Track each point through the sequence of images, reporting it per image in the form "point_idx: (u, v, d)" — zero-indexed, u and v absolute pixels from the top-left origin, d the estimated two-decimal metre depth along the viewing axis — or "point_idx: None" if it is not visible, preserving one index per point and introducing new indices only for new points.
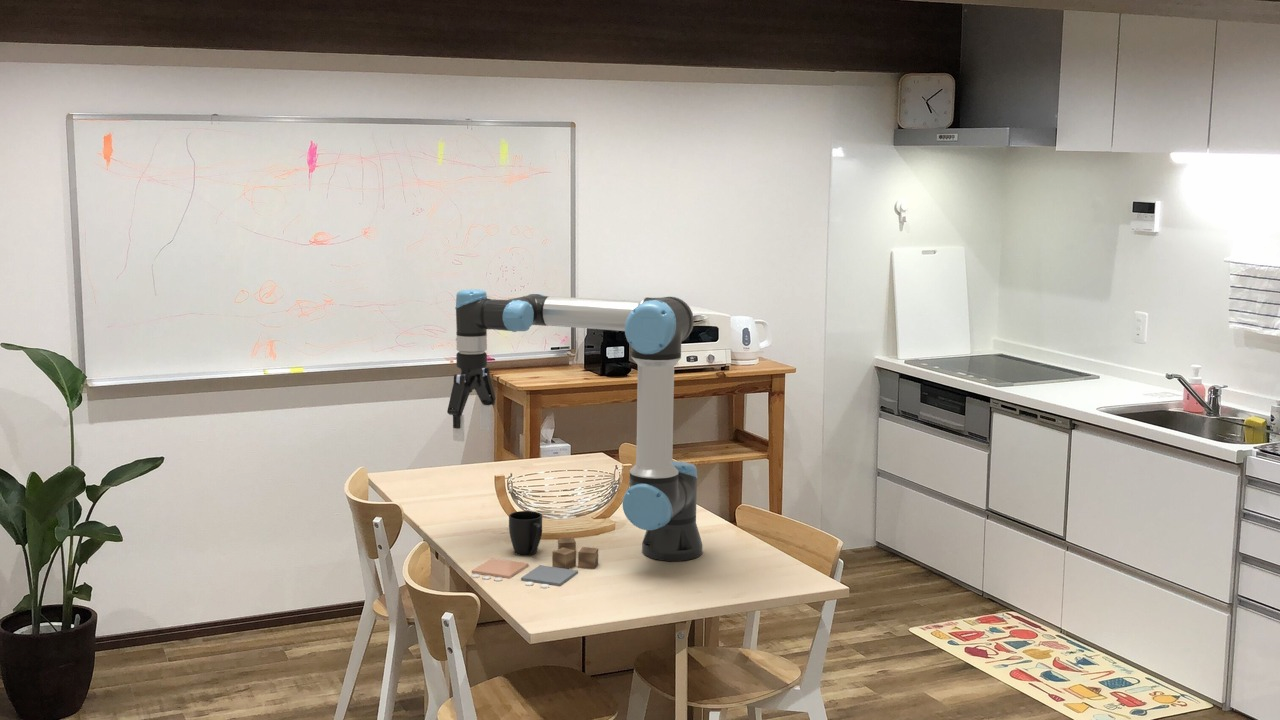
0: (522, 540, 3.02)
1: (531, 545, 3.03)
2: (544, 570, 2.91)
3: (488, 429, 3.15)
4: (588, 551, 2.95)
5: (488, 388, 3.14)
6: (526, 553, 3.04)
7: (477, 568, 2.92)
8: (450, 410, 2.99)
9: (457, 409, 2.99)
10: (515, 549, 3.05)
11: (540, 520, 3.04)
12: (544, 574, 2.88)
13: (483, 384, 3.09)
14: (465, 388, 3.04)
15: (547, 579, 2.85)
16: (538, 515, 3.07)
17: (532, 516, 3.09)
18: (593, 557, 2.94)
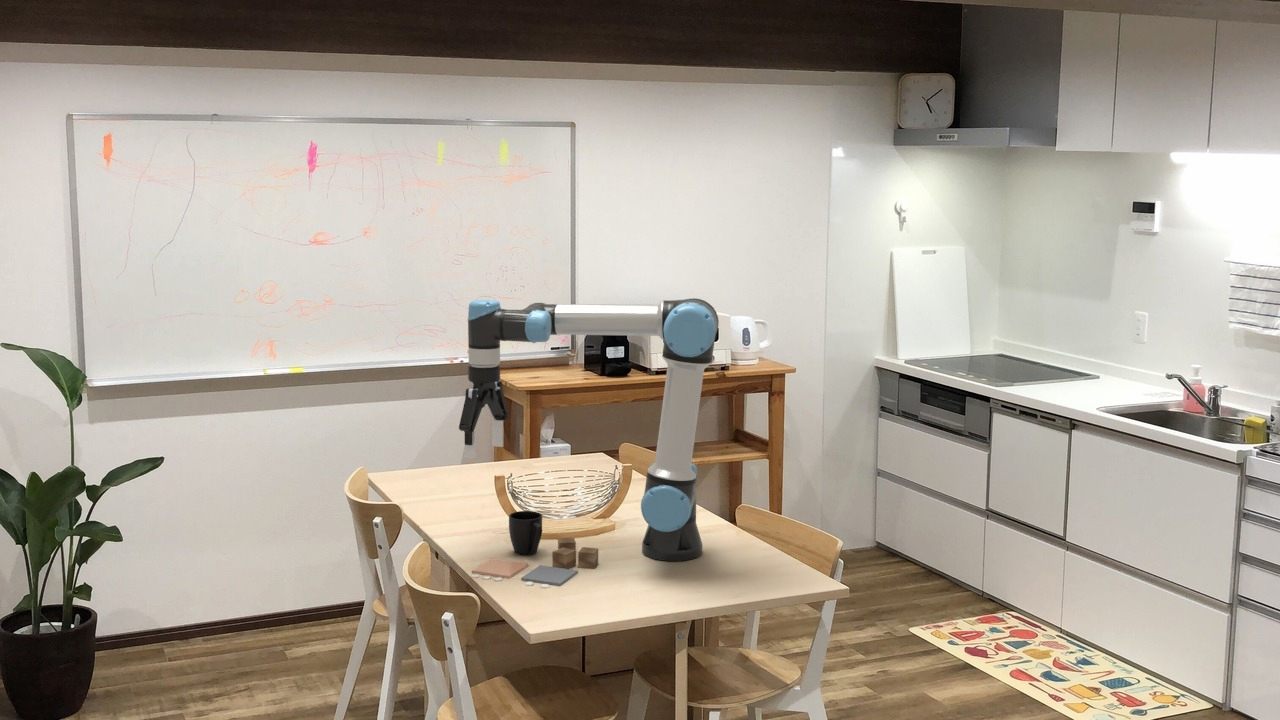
0: (522, 540, 3.02)
1: (531, 545, 3.03)
2: (544, 570, 2.91)
3: (500, 445, 3.02)
4: (588, 551, 2.95)
5: (500, 402, 3.01)
6: (526, 553, 3.04)
7: (477, 568, 2.92)
8: (461, 426, 2.86)
9: (469, 425, 2.86)
10: (515, 549, 3.05)
11: (540, 520, 3.04)
12: (544, 574, 2.88)
13: (496, 398, 2.96)
14: (477, 402, 2.91)
15: (547, 579, 2.85)
16: (538, 515, 3.07)
17: (532, 516, 3.09)
18: (593, 557, 2.94)
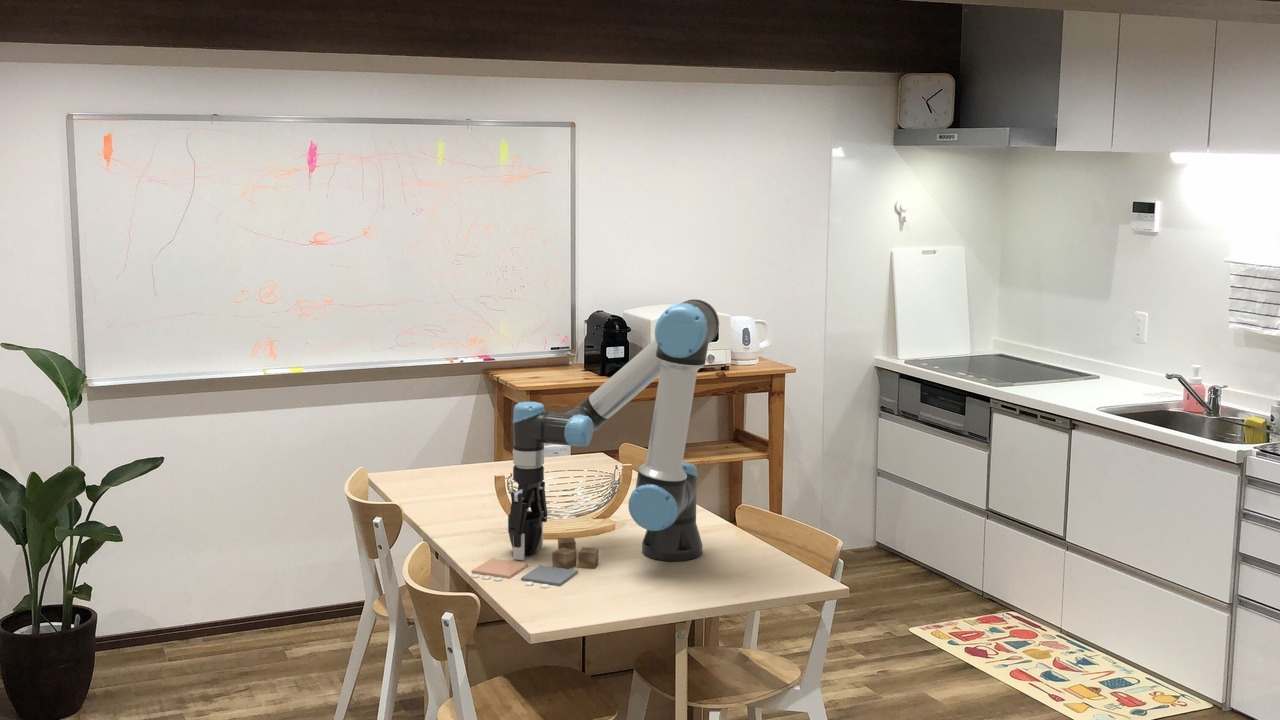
0: None
1: (530, 545, 3.03)
2: (544, 570, 2.91)
3: (540, 547, 3.09)
4: (588, 551, 2.95)
5: (541, 503, 3.09)
6: (525, 553, 3.04)
7: (477, 568, 2.92)
8: (511, 530, 2.96)
9: (518, 529, 2.96)
10: None
11: (539, 520, 3.04)
12: (544, 574, 2.88)
13: (538, 498, 3.05)
14: (523, 504, 3.00)
15: (547, 579, 2.85)
16: (537, 515, 3.07)
17: (531, 516, 3.08)
18: (593, 557, 2.94)
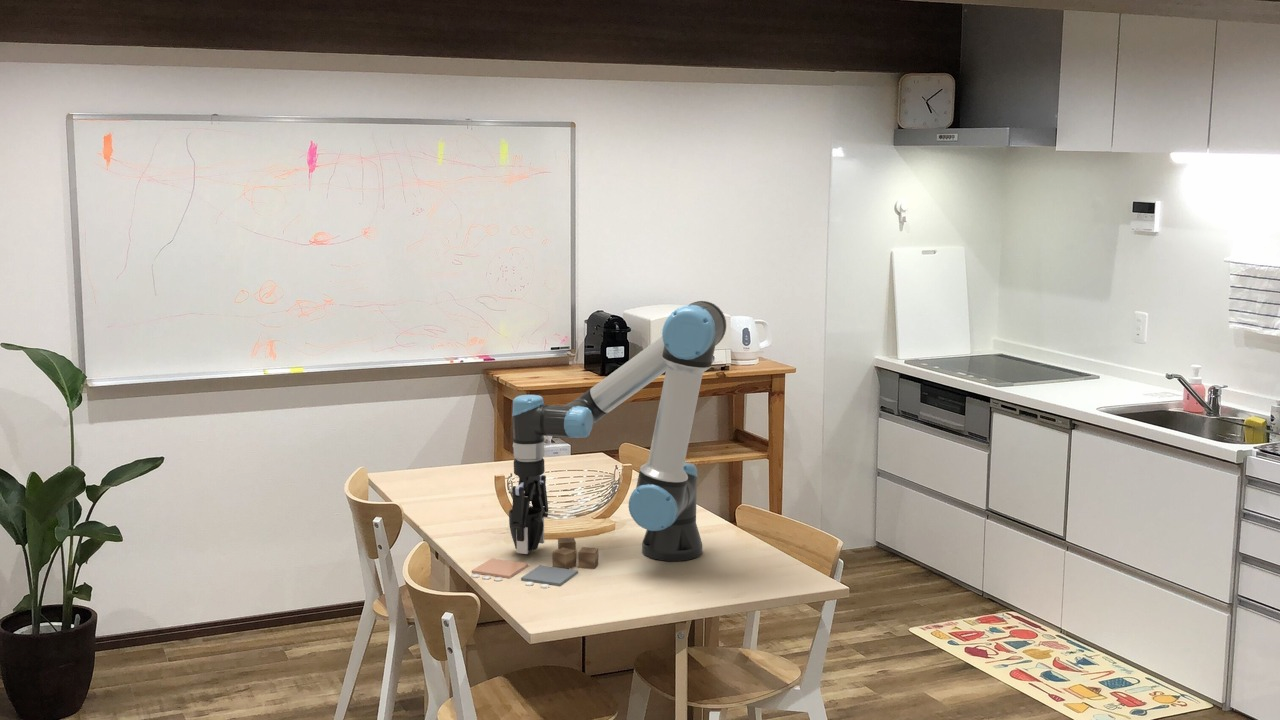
0: None
1: (532, 540, 3.02)
2: (544, 570, 2.91)
3: (542, 542, 3.08)
4: (588, 551, 2.95)
5: (542, 497, 3.08)
6: None
7: (477, 568, 2.92)
8: (514, 524, 2.96)
9: (521, 522, 2.96)
10: (516, 545, 3.03)
11: (540, 515, 3.03)
12: (544, 574, 2.88)
13: (539, 492, 3.04)
14: (524, 497, 3.00)
15: (547, 579, 2.85)
16: (538, 510, 3.06)
17: (532, 511, 3.08)
18: (593, 557, 2.94)
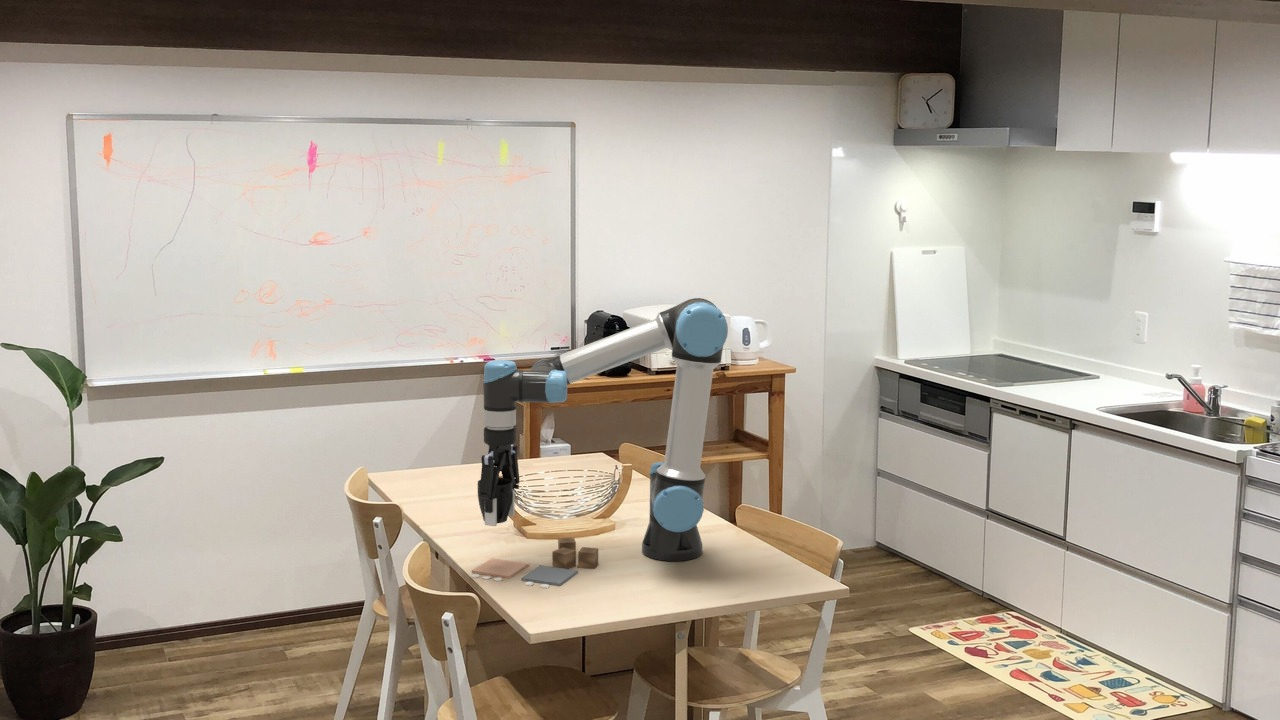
0: None
1: (501, 512, 2.89)
2: (544, 570, 2.91)
3: (512, 515, 2.95)
4: (588, 551, 2.95)
5: (513, 468, 2.95)
6: None
7: (477, 568, 2.92)
8: (482, 494, 2.83)
9: (489, 493, 2.83)
10: (484, 517, 2.90)
11: (510, 486, 2.90)
12: (544, 574, 2.88)
13: (510, 462, 2.91)
14: (494, 467, 2.86)
15: (547, 579, 2.85)
16: (508, 481, 2.93)
17: (502, 482, 2.94)
18: (593, 557, 2.94)
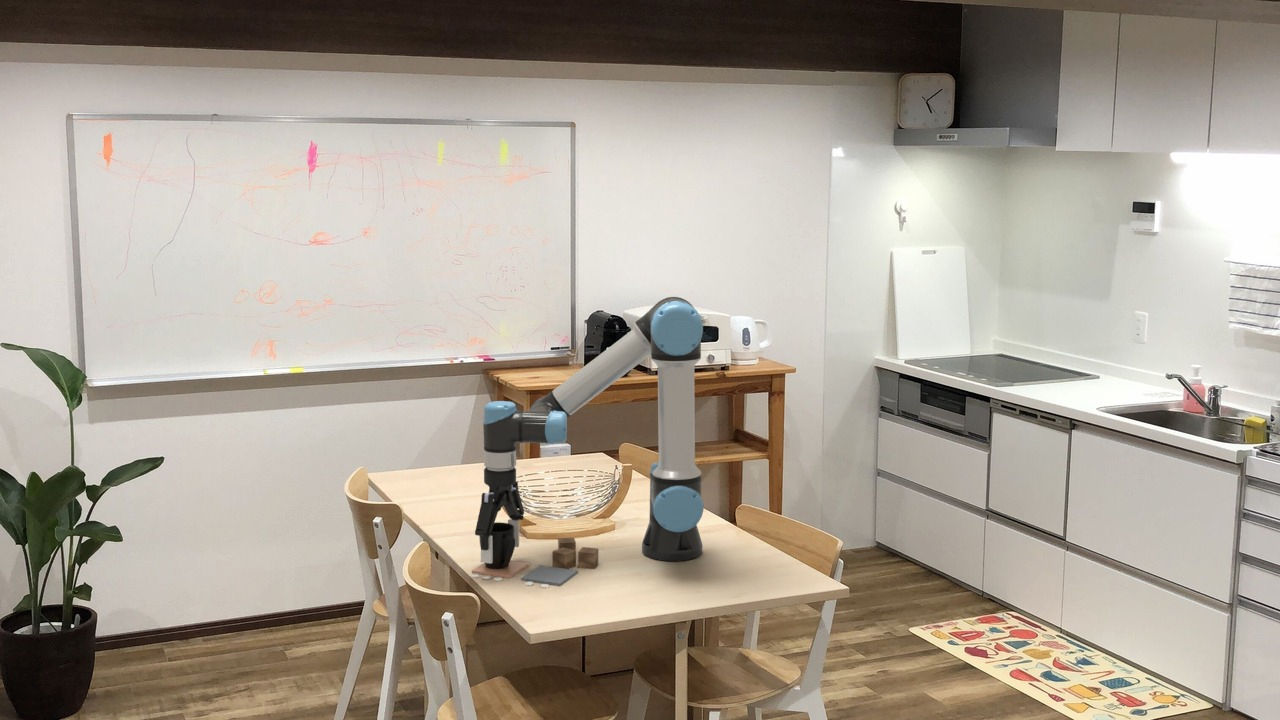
0: (494, 553, 2.90)
1: (503, 558, 2.91)
2: (544, 570, 2.91)
3: (516, 545, 2.98)
4: (588, 551, 2.95)
5: (516, 502, 2.98)
6: (498, 566, 2.91)
7: (477, 568, 2.92)
8: (477, 532, 2.83)
9: (485, 531, 2.83)
10: None
11: (512, 532, 2.92)
12: (544, 574, 2.88)
13: (512, 500, 2.93)
14: (493, 506, 2.87)
15: (547, 579, 2.85)
16: (510, 527, 2.95)
17: (503, 528, 2.96)
18: (593, 557, 2.94)
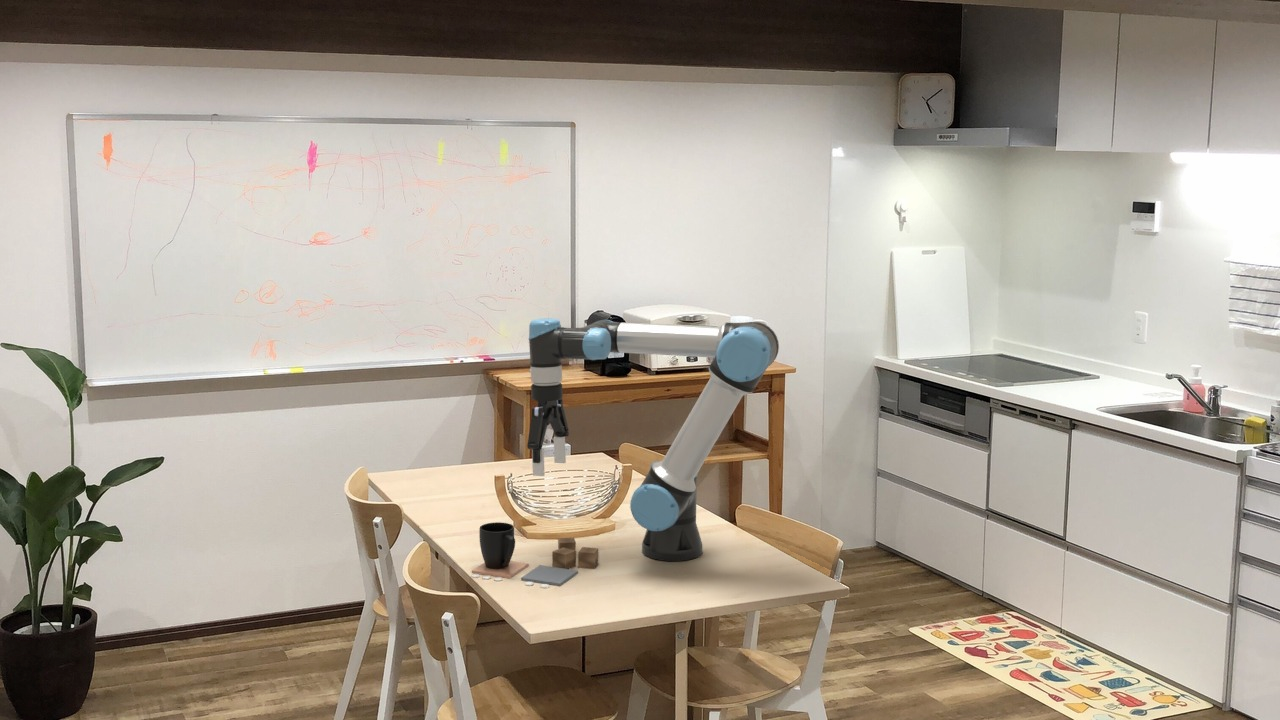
0: (494, 553, 2.90)
1: (503, 558, 2.91)
2: (544, 570, 2.91)
3: (563, 462, 3.05)
4: (588, 551, 2.95)
5: (561, 419, 3.05)
6: (498, 566, 2.91)
7: (477, 568, 2.92)
8: (530, 444, 2.89)
9: (537, 443, 2.89)
10: (486, 562, 2.92)
11: (512, 532, 2.92)
12: (544, 574, 2.88)
13: (558, 416, 3.00)
14: (542, 420, 2.94)
15: (547, 579, 2.85)
16: (510, 527, 2.95)
17: (503, 528, 2.96)
18: (593, 557, 2.94)
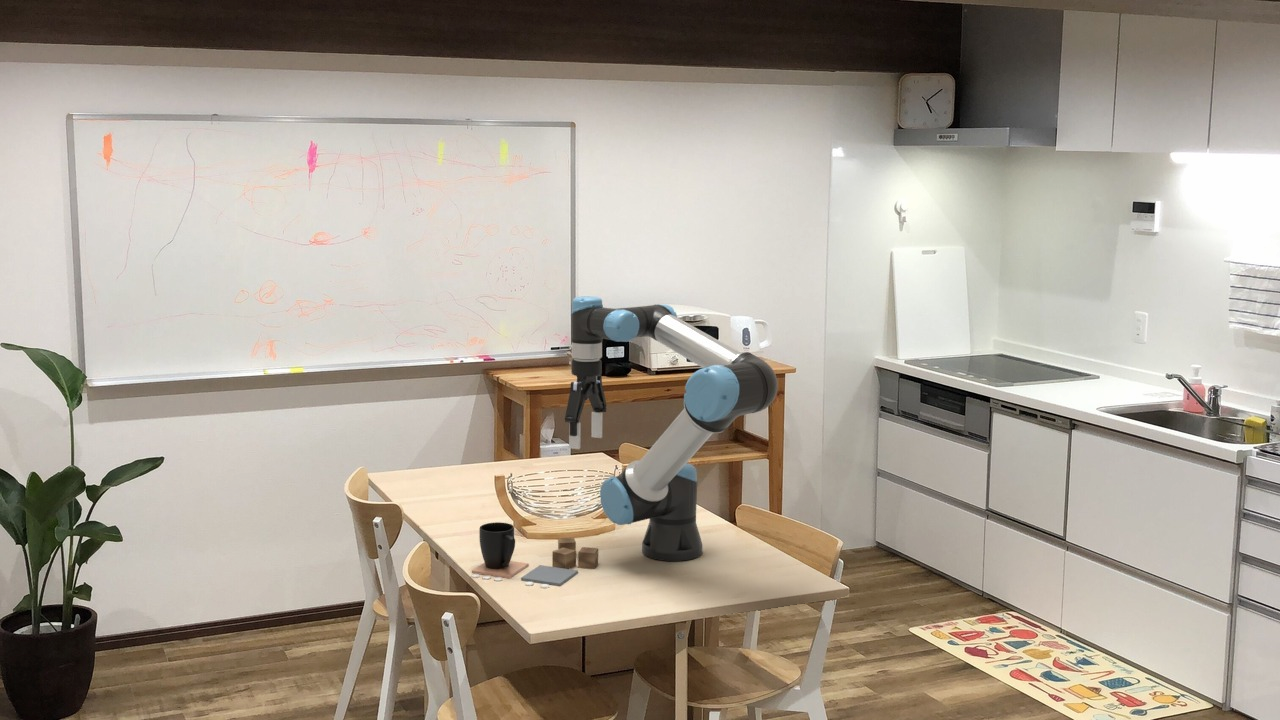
0: (494, 553, 2.90)
1: (503, 558, 2.91)
2: (544, 570, 2.91)
3: (600, 436, 3.14)
4: (588, 551, 2.95)
5: (600, 395, 3.13)
6: (498, 566, 2.91)
7: (477, 568, 2.92)
8: (567, 418, 2.98)
9: (575, 417, 2.98)
10: (486, 562, 2.92)
11: (512, 532, 2.92)
12: (544, 574, 2.88)
13: (597, 391, 3.08)
14: (580, 395, 3.03)
15: (547, 579, 2.85)
16: (510, 527, 2.95)
17: (503, 528, 2.96)
18: (593, 557, 2.94)
